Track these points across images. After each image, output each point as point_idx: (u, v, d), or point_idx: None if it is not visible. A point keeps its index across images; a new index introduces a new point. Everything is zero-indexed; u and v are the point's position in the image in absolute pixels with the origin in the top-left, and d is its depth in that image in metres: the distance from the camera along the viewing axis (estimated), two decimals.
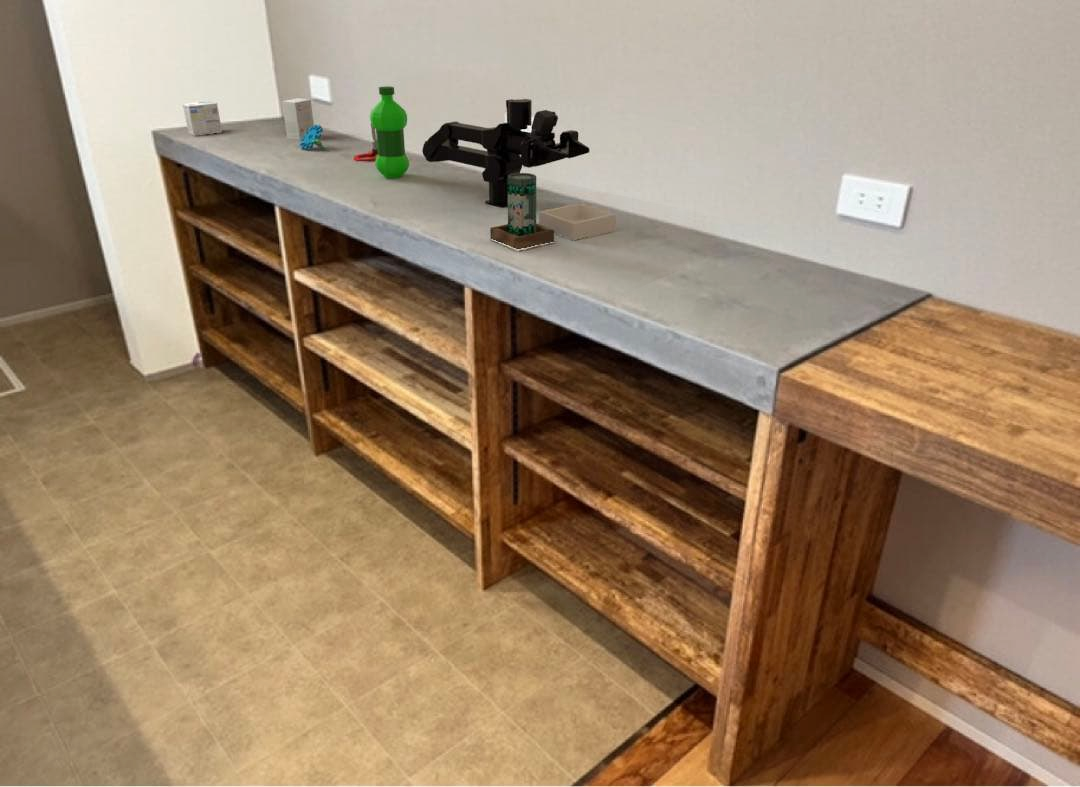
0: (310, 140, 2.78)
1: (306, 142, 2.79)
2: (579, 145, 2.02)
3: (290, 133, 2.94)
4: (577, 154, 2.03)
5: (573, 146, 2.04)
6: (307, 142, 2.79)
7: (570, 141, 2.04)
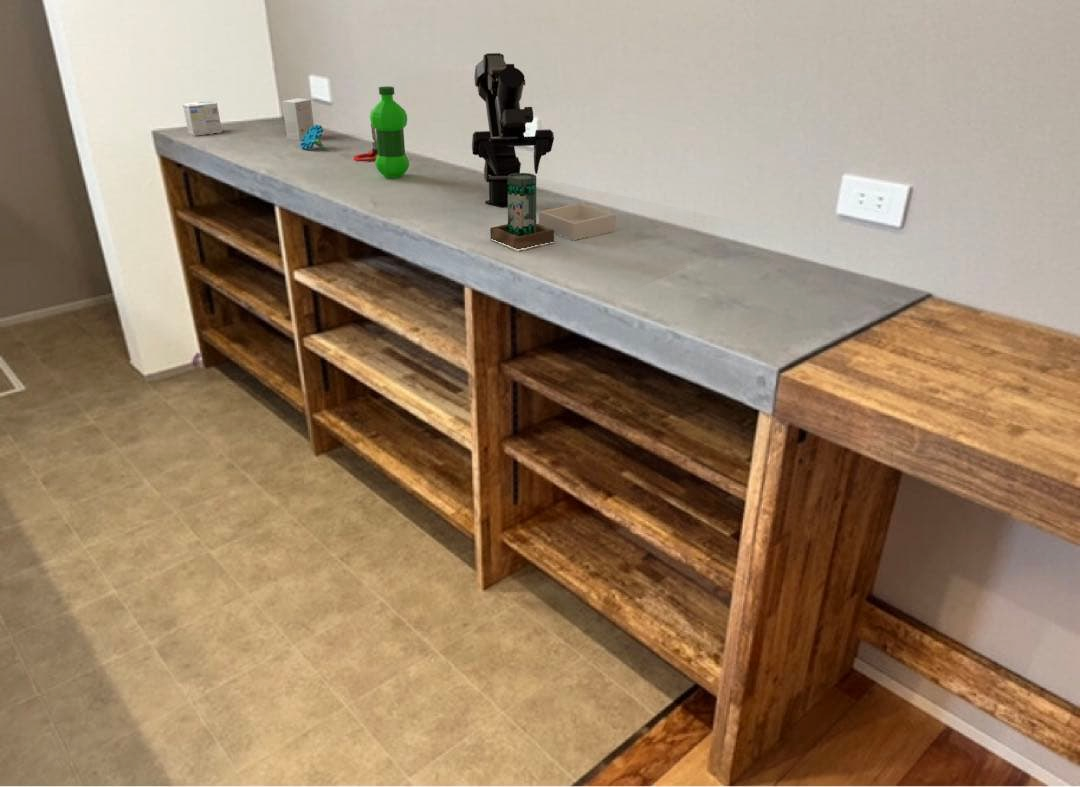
0: (310, 140, 2.78)
1: (306, 142, 2.79)
2: (535, 159, 1.92)
3: (290, 133, 2.94)
4: (534, 162, 1.94)
5: (535, 153, 1.93)
6: (307, 142, 2.79)
7: (535, 146, 1.93)
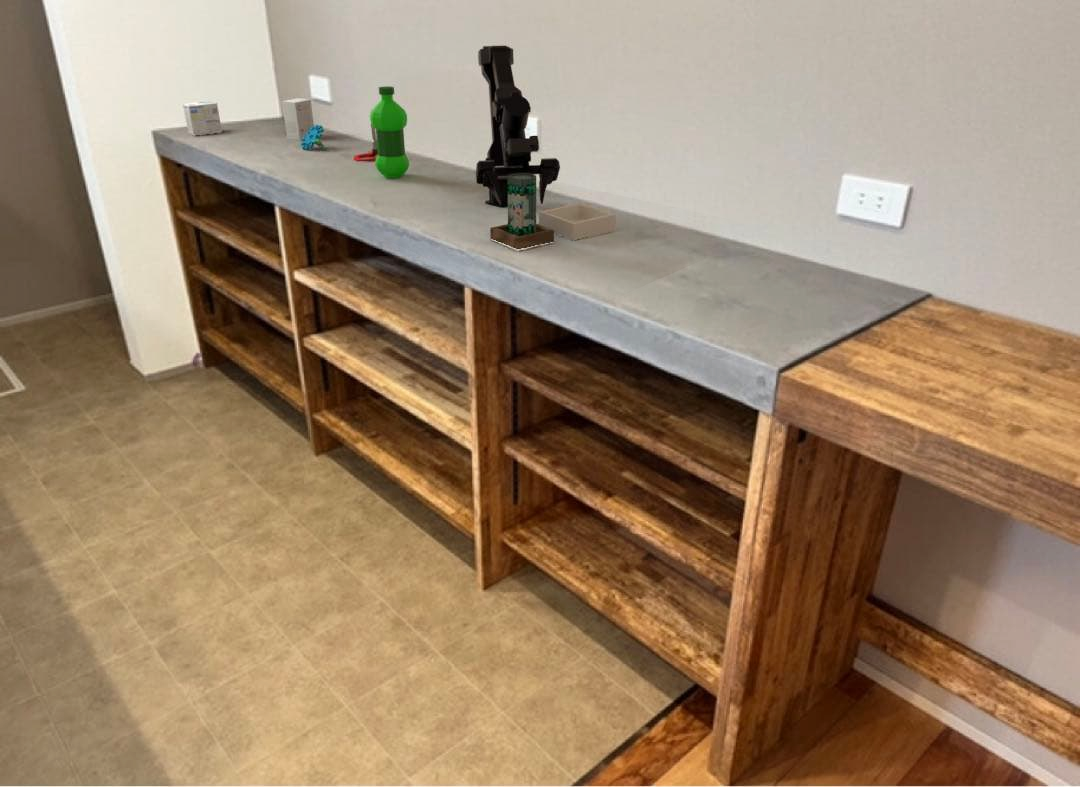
0: (311, 140, 2.79)
1: (307, 142, 2.80)
2: (540, 189, 1.87)
3: (290, 133, 2.94)
4: (539, 192, 1.90)
5: (540, 182, 1.88)
6: (308, 142, 2.79)
7: (541, 175, 1.88)
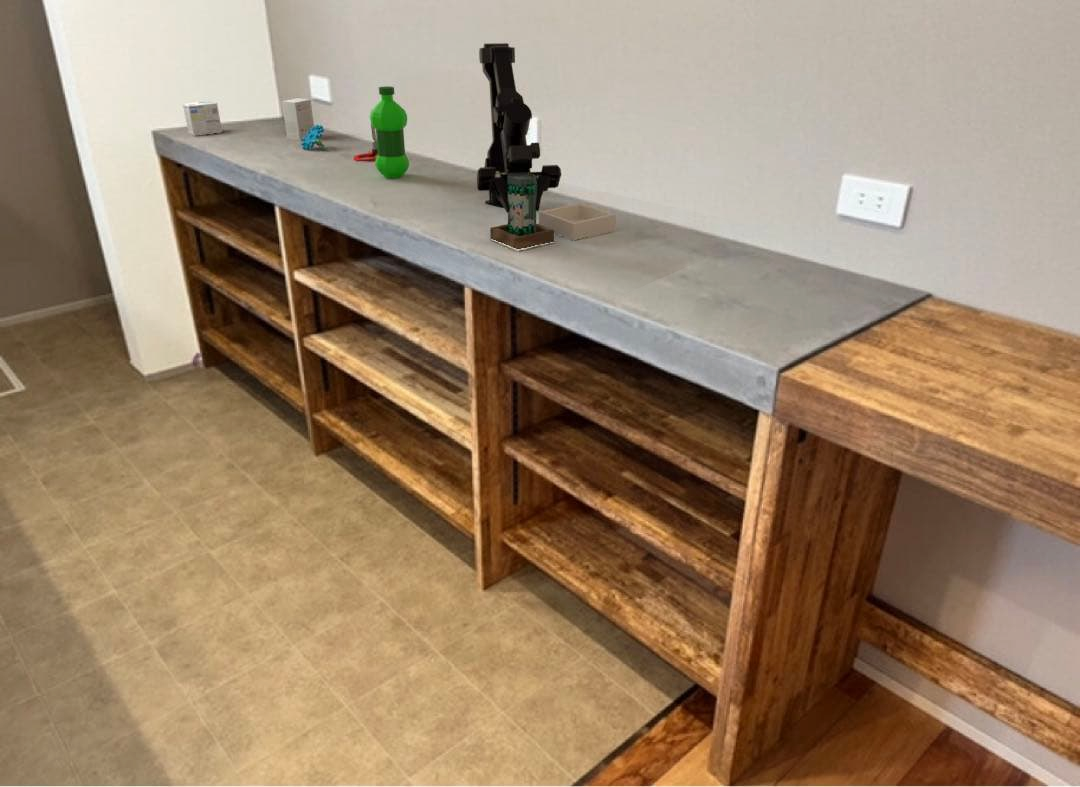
0: (311, 140, 2.79)
1: (307, 142, 2.80)
2: (536, 196, 1.86)
3: (290, 133, 2.94)
4: None
5: (536, 189, 1.87)
6: (308, 142, 2.79)
7: (537, 182, 1.87)
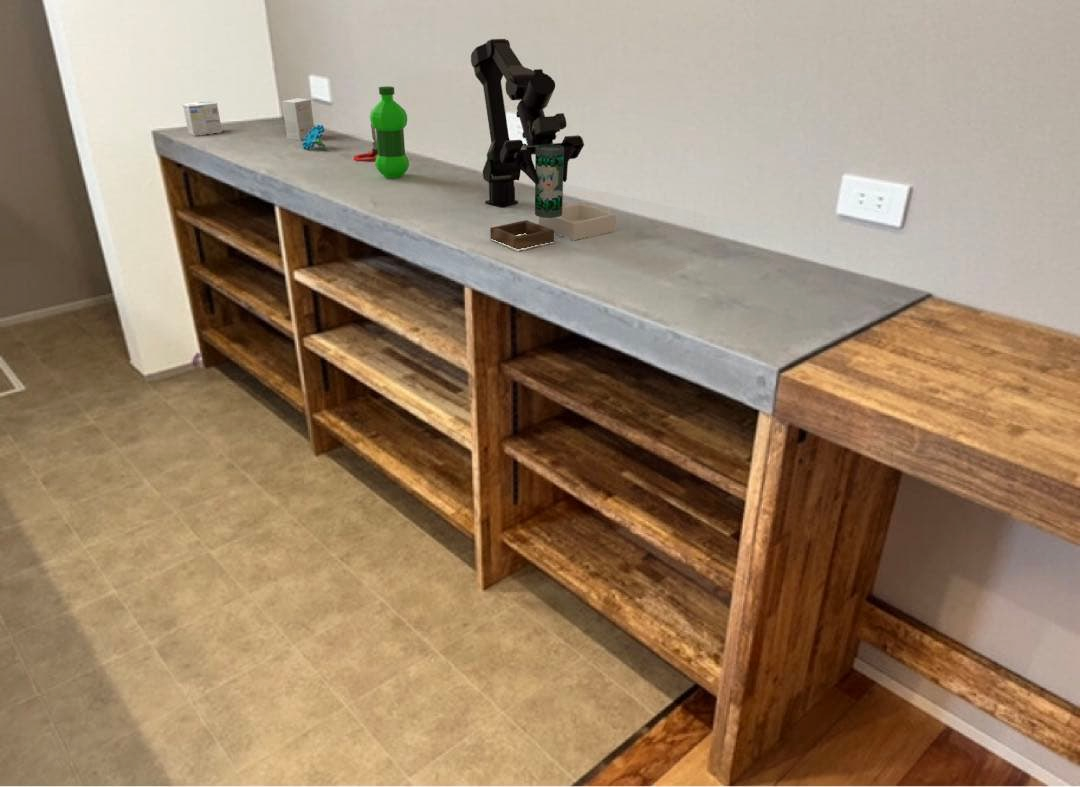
0: (311, 140, 2.79)
1: (308, 142, 2.80)
2: (563, 167, 1.87)
3: (290, 133, 2.94)
4: None
5: None
6: (309, 142, 2.79)
7: None
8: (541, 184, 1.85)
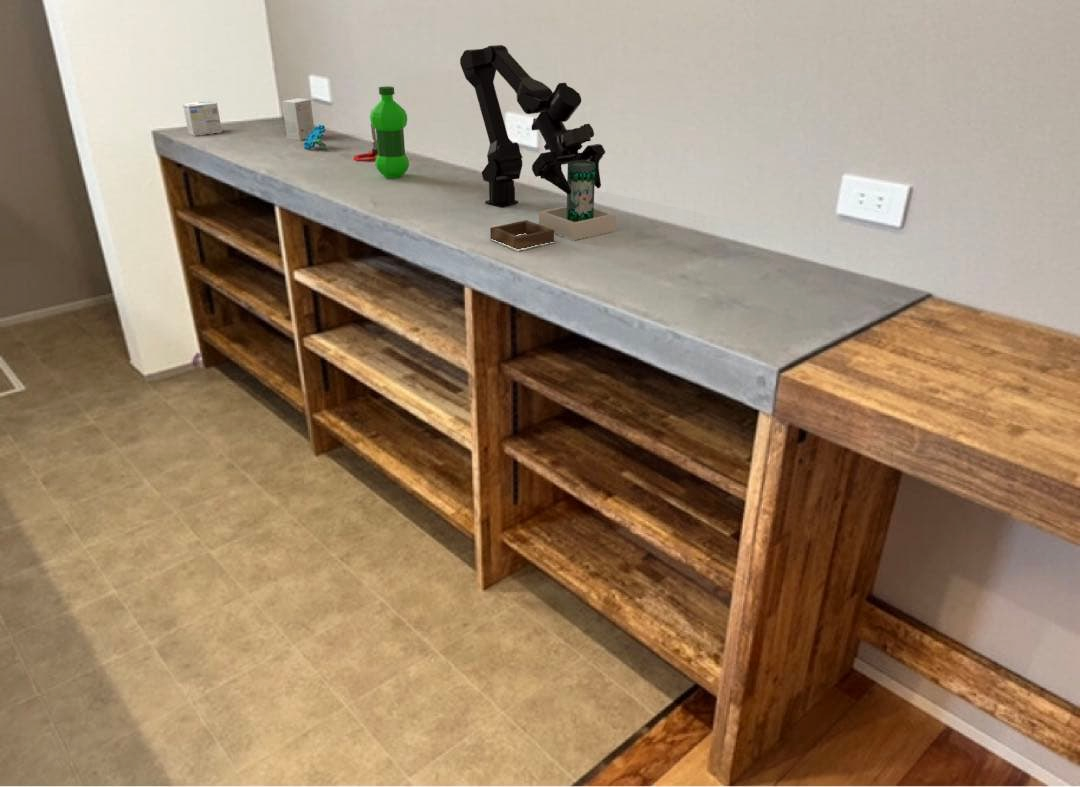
0: (312, 140, 2.79)
1: (309, 142, 2.80)
2: (595, 174, 1.95)
3: (290, 133, 2.94)
4: None
5: None
6: (310, 142, 2.79)
7: (591, 161, 1.96)
8: (577, 199, 1.92)
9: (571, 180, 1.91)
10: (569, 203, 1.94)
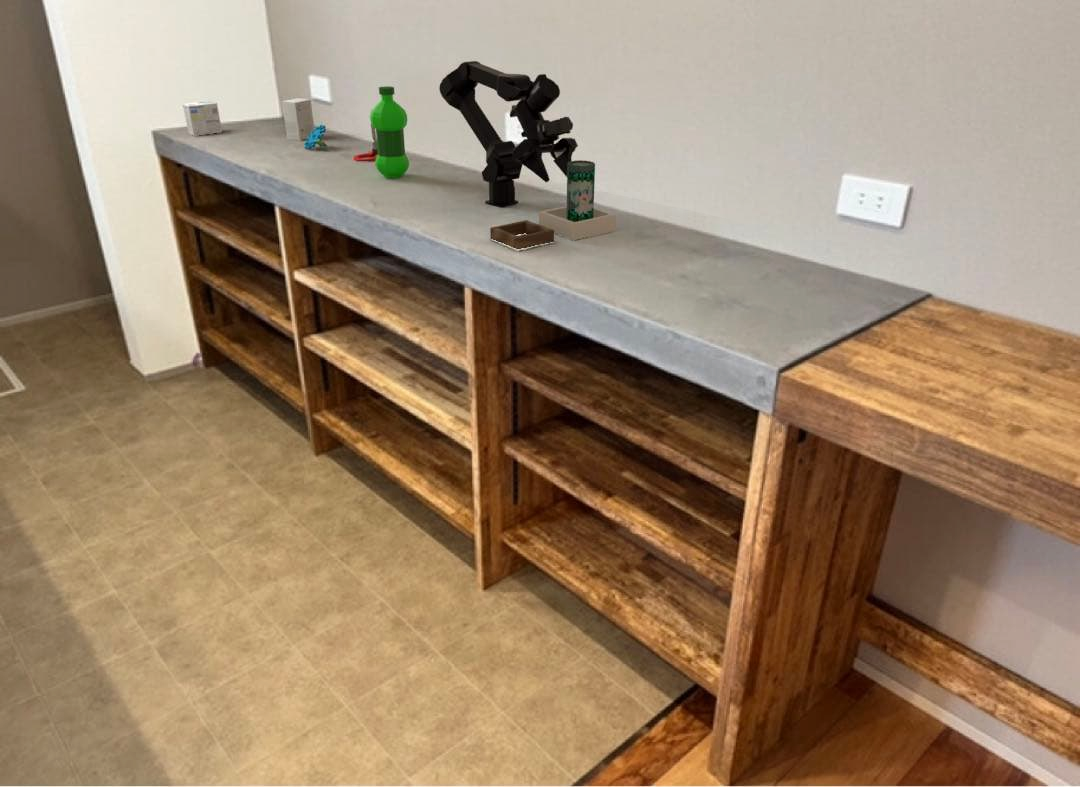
0: (313, 140, 2.79)
1: (309, 142, 2.80)
2: None
3: (290, 133, 2.94)
4: (561, 169, 2.05)
5: (564, 160, 2.04)
6: (310, 142, 2.80)
7: (565, 153, 2.04)
8: (577, 199, 1.92)
9: (571, 180, 1.91)
10: (569, 203, 1.94)
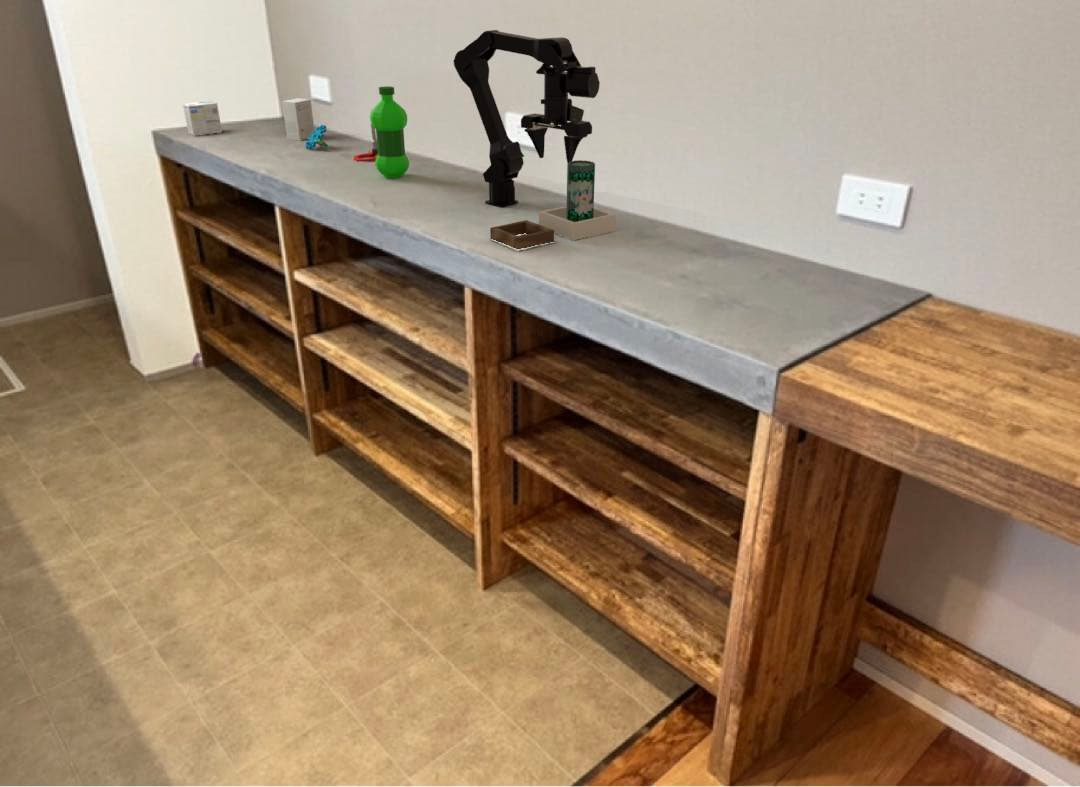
0: (314, 140, 2.79)
1: (310, 142, 2.80)
2: (543, 145, 2.08)
3: (290, 133, 2.94)
4: (537, 143, 2.07)
5: (541, 136, 2.07)
6: (311, 142, 2.80)
7: (543, 131, 2.08)
8: (577, 199, 1.92)
9: (571, 180, 1.91)
10: (569, 203, 1.94)
